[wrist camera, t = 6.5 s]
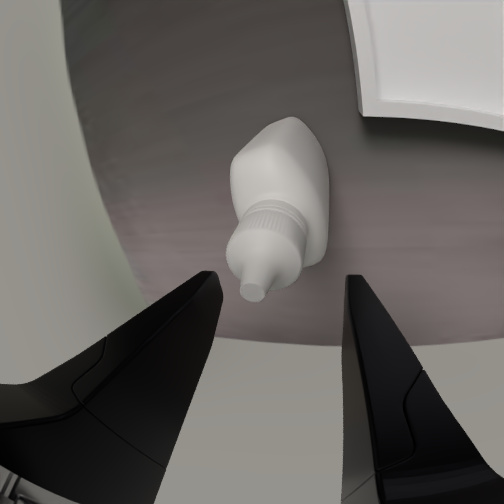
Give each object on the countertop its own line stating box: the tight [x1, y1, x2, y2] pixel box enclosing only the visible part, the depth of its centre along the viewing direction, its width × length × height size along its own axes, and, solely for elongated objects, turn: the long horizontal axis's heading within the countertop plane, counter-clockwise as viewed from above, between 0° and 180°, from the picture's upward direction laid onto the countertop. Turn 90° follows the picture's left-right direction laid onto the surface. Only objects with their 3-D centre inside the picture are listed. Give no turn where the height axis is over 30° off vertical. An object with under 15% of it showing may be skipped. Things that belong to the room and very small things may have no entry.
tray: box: [343, 0, 504, 131], centre depth 8 cm, size 14×14×2 cm
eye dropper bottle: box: [226, 117, 329, 302], centre depth 13 cm, size 4×6×12 cm
